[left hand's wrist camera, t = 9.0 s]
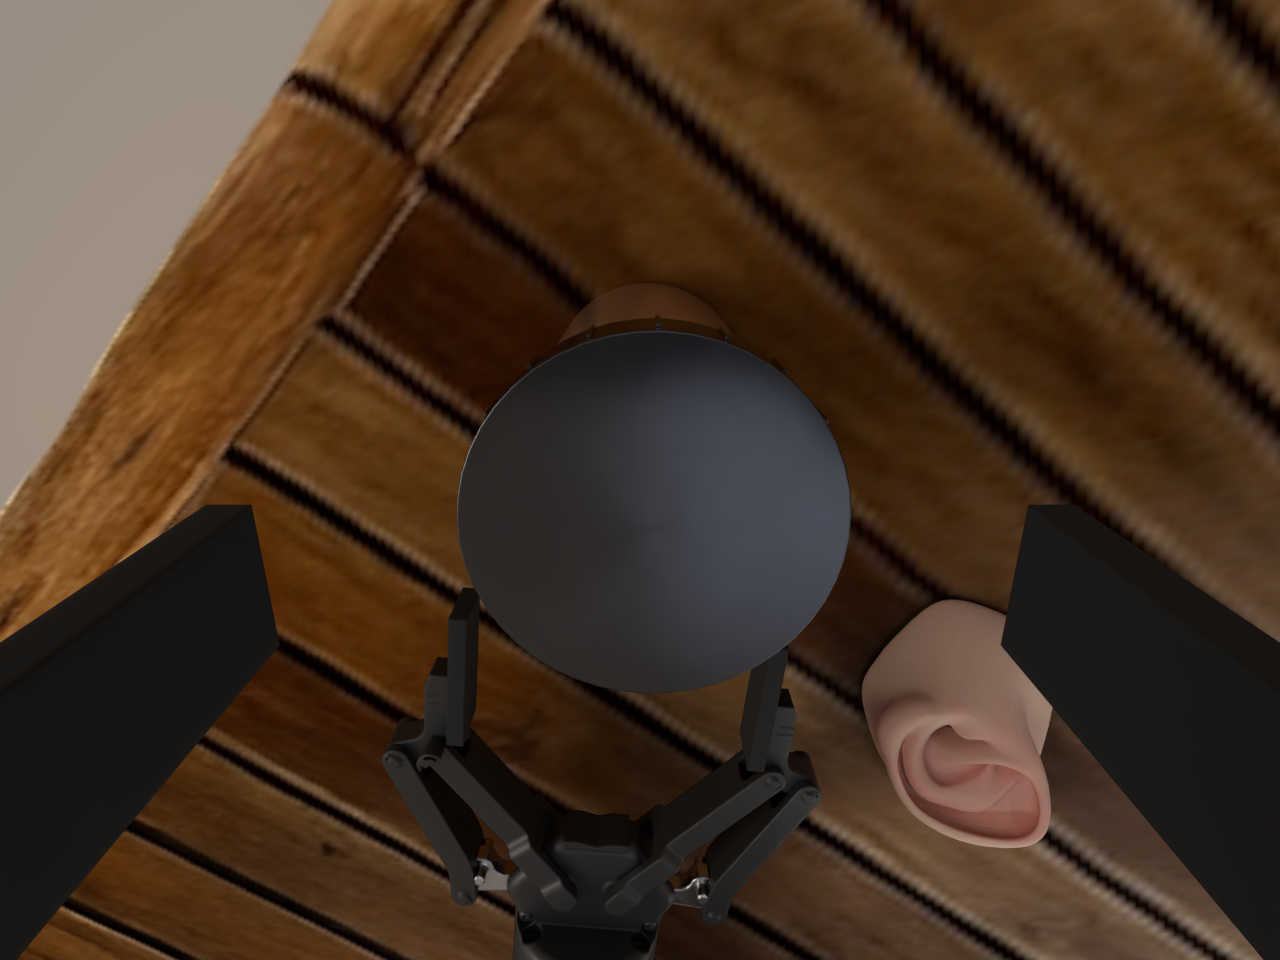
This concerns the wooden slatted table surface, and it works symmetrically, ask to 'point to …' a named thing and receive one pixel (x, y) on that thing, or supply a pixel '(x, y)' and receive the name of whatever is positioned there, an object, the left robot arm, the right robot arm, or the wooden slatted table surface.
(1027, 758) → the anatomical model
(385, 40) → the wooden slatted table surface
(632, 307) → the jar
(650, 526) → the lid
